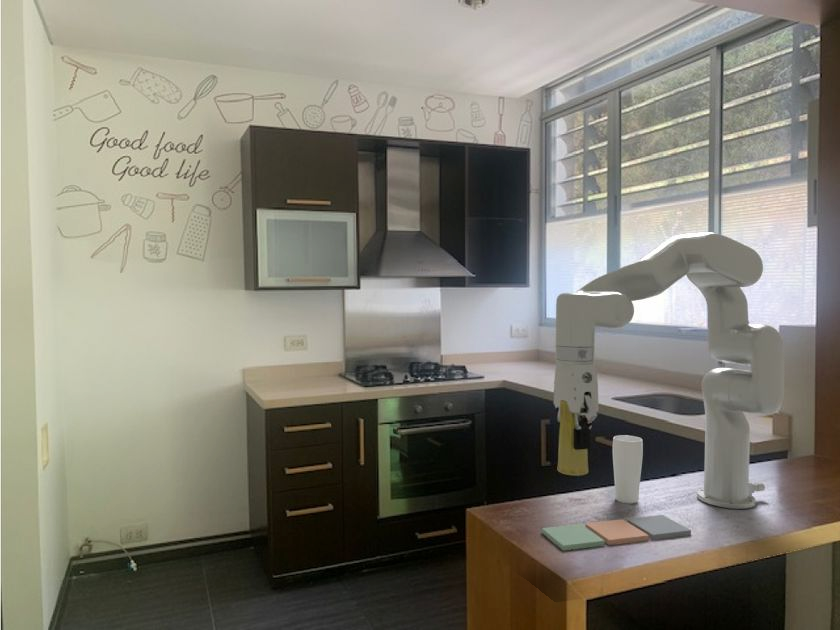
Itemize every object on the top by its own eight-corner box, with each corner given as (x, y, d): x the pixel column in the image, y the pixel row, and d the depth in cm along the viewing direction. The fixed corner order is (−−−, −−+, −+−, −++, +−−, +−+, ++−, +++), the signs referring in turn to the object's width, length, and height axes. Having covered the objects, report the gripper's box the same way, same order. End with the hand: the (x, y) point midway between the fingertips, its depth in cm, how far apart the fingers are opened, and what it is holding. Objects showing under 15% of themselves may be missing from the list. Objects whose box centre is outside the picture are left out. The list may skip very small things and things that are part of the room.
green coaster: (580, 528, 130) (580, 523, 130) (604, 545, 121) (604, 540, 121) (541, 532, 127) (541, 528, 127) (563, 550, 119) (563, 545, 119)
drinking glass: (643, 506, 143) (645, 442, 143) (613, 504, 145) (614, 441, 144) (639, 497, 150) (640, 435, 149) (610, 495, 151) (611, 434, 151)
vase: (567, 465, 128) (568, 396, 128) (594, 471, 124) (595, 400, 123) (551, 471, 124) (551, 400, 123) (578, 477, 119) (579, 404, 119)
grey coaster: (662, 519, 135) (662, 514, 135) (690, 535, 127) (690, 530, 127) (626, 523, 133) (626, 518, 133) (652, 539, 124) (653, 534, 124)
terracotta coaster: (622, 523, 133) (622, 519, 133) (648, 540, 124) (648, 535, 124) (585, 528, 130) (585, 523, 130) (609, 545, 122) (609, 540, 121)
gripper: (616, 359, 116) (614, 455, 116) (570, 350, 132) (568, 434, 133) (580, 360, 114) (578, 457, 114) (538, 351, 130) (536, 436, 131)
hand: (573, 444), depth 124 cm, fingers closed on vase, 5 cm apart
